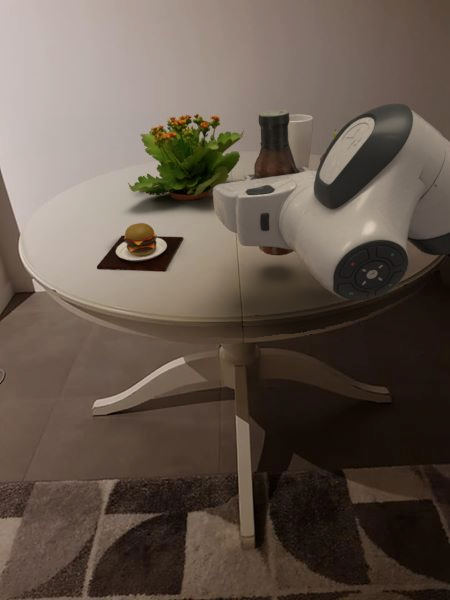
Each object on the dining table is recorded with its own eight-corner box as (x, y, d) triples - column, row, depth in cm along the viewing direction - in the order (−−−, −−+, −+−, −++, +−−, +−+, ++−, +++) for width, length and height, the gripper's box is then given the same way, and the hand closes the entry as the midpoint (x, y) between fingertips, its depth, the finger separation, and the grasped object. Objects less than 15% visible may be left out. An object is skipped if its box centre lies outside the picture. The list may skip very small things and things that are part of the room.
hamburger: (122, 237, 89) (116, 210, 86) (183, 239, 87) (180, 211, 84) (97, 268, 79) (90, 239, 76) (165, 271, 77) (161, 240, 74)
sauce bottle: (306, 246, 72) (311, 110, 61) (280, 261, 68) (280, 119, 58) (274, 235, 76) (273, 105, 65) (247, 249, 73) (242, 114, 62)
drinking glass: (294, 194, 102) (296, 123, 94) (274, 187, 107) (273, 118, 99) (316, 186, 105) (320, 117, 97) (295, 179, 110) (297, 112, 102)
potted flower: (155, 175, 119) (144, 102, 110) (247, 173, 116) (245, 97, 107) (129, 214, 98) (113, 128, 89) (241, 212, 96) (237, 123, 86)
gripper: (393, 173, 55) (343, 145, 67) (225, 197, 52) (203, 163, 64) (387, 222, 59) (341, 187, 70) (228, 248, 56) (207, 207, 67)
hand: (274, 176), depth 67 cm, fingers closed on sauce bottle, 6 cm apart
